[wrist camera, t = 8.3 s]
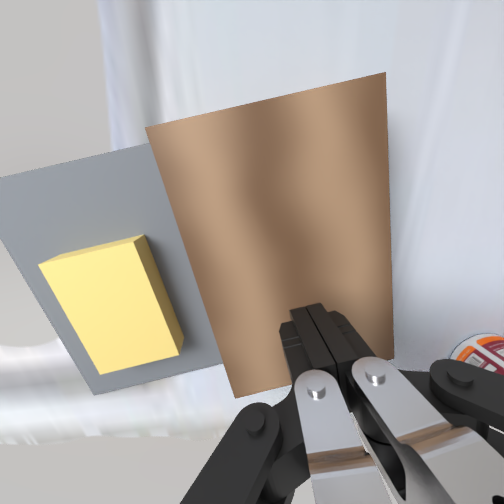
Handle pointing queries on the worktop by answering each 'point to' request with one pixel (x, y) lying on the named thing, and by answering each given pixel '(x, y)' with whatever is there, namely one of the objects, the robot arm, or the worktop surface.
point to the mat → (101, 232)
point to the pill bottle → (482, 352)
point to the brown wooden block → (284, 218)
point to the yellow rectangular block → (116, 303)
